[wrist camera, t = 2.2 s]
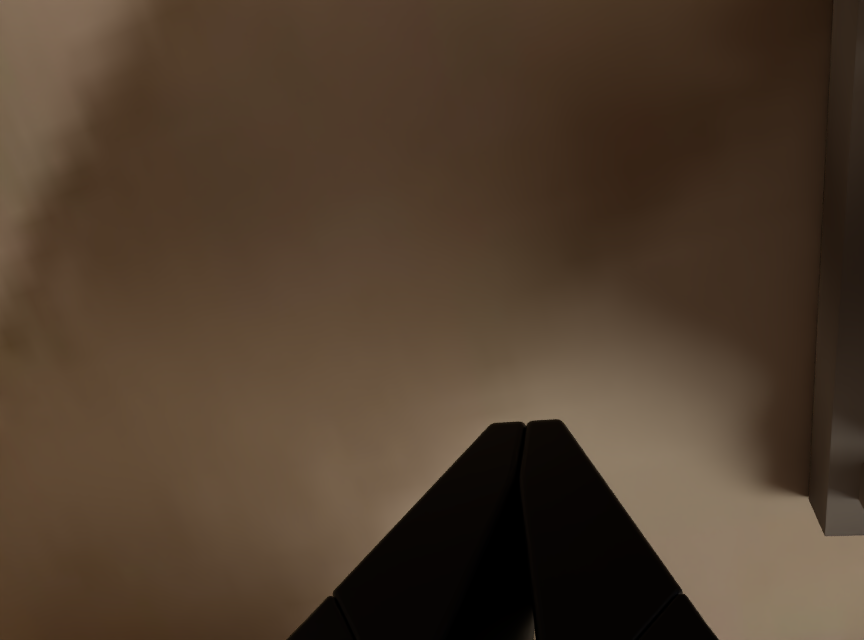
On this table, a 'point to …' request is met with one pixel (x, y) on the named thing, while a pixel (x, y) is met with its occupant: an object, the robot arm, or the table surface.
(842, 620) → the table surface
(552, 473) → the robot arm
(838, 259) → the guide board
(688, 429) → the table surface
